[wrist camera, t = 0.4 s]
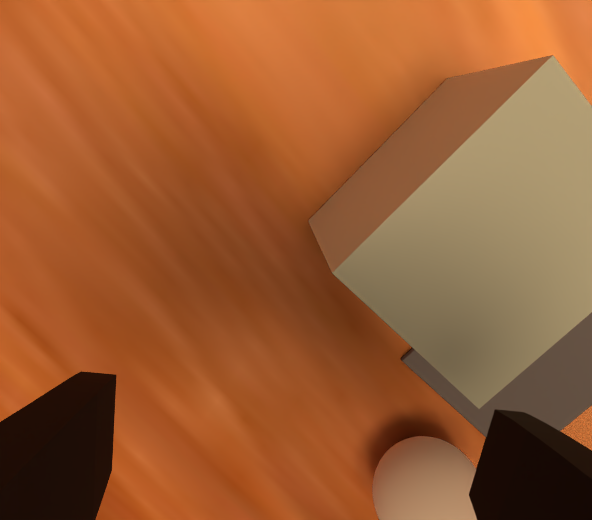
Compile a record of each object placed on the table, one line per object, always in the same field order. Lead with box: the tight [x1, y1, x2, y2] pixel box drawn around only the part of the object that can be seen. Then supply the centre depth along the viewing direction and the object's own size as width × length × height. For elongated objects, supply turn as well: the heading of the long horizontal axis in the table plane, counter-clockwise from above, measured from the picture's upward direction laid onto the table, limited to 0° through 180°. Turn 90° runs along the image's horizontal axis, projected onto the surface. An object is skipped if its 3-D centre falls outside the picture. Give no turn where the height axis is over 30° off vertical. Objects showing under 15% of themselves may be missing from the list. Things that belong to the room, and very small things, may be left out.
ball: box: [372, 436, 477, 520], centre depth 19 cm, size 4×4×4 cm
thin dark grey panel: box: [401, 312, 592, 437], centre depth 20 cm, size 8×8×1 cm
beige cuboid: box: [308, 55, 592, 409], centre depth 15 cm, size 7×6×6 cm
